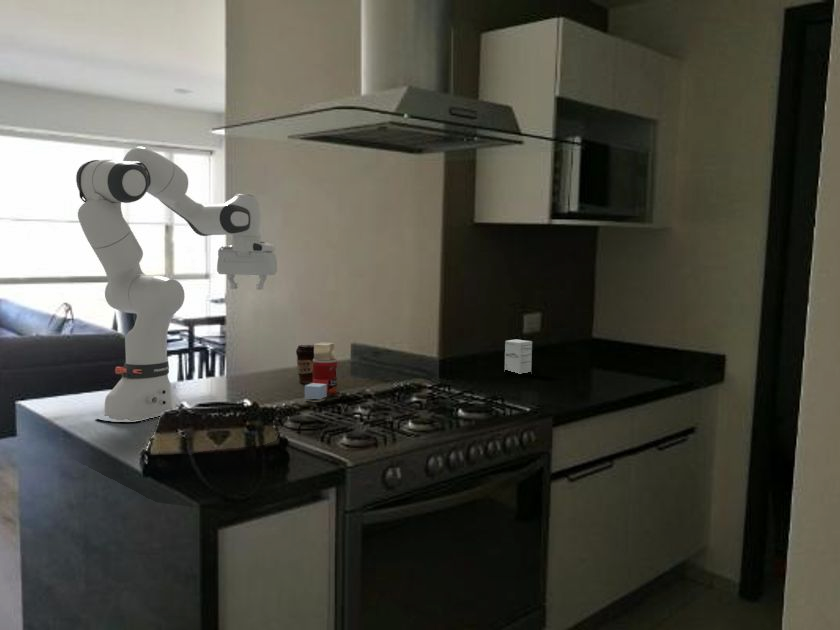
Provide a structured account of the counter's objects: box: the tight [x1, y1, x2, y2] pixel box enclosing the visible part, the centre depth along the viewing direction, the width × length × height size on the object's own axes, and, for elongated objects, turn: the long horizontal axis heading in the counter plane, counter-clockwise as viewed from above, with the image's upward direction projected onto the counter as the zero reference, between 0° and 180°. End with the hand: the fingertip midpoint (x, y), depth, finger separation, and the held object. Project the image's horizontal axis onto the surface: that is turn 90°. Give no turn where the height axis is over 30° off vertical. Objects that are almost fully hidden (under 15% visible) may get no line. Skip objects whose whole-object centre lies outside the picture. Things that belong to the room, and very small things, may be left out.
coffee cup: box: [295, 344, 314, 384], centre depth 261 cm, size 9×8×13 cm
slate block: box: [304, 383, 328, 400], centre depth 231 cm, size 5×5×5 cm
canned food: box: [313, 357, 338, 395], centre depth 244 cm, size 8×8×11 cm
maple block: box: [313, 342, 336, 360], centre depth 243 cm, size 5×5×5 cm
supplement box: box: [504, 338, 533, 374], centre depth 280 cm, size 7×7×13 cm
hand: (246, 289), depth 241 cm, fingers open, 8 cm apart
